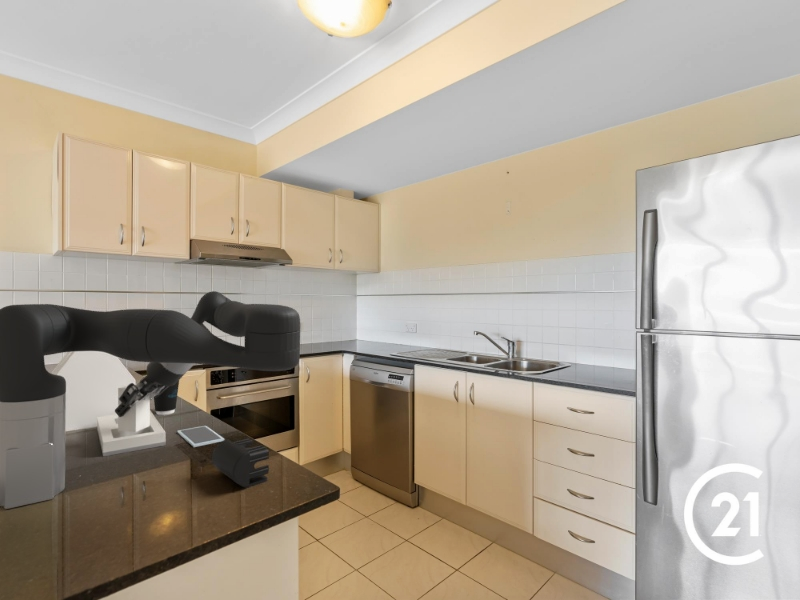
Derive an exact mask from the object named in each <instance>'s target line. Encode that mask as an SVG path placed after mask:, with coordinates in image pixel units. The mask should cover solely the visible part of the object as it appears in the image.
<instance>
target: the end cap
mask: <svg viewBox="0 0 800 600" xmlns="http://www.w3.org/2000/svg"><path fill="white" fill-rule="evenodd" d="M250 445H255V441H254V440H253V439H250V438H245V439H241V440H237V441H232V440H230V439H229V438H226V439H224V441H221V442H218V443H217V445H216V446H215V448H213V449H214V450H213V451H212V455H211V463H212V464H213V467H215V468H216V469H217V470H218V471H220V472H221V473H222V474H224V475H225V476H227V478H229V479H231V481H233V482H234V483H236V484H238V485H239V486H240V487H243V488H246V489H247V488H248V489H249V488H251V487H254V486H257V485H260V484H264V483H266V482H268V477H267V476H266V475H268V474H269V473H270V471H269V469H270V467H269V466H270V465H269V464H266V465H263V466H260V467H256V463H259V462H262V461H265V460H269V459H270V452H269V449H268V448H267V447H265V446H263V445H258V446H253V447H249V446H250ZM255 467H256V468H255Z"/></svg>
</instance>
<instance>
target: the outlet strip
mask: <svg viewBox="0 0 800 600" xmlns="http://www.w3.org/2000/svg"><path fill="white" fill-rule="evenodd" d="M96 430H97V434H98V439H99V445H100V449H101V453H102V457H108V456H113V455H118V454H124V453H130V452H136V451H139V450H140V451H141V450H145V449H151V448H157V447H162V446H163V447H164V446H166V444H167V443H166V442H167V441H166V438H167V437H166V435H167V433H166V431H165V429H164V428H163V427H162V425H161V424H160V421H158V419H157V418H156V417H155V415H154V413H153V412H152V411H151V410H150V426H149V427H146V428H144V429H141V430H139V431H137V432H128V431H118V415H110V416H103V417H97V427H96Z"/></svg>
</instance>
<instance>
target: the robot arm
mask: <svg viewBox="0 0 800 600" xmlns="http://www.w3.org/2000/svg"><path fill="white" fill-rule="evenodd" d="M205 322H206V323H208V324H209V325H211V326H212V327H214V328H216V329H217V330H219V331H220V332H223V333H225V334H226V335H230V336H232V337H234V338H235V337H236V338H244V346H243V345H238V344H236V343H232V342H229V341H227V340H224V339H222V338H220V337H218V336H217V335H215V334H213V333H212V331H211V330H210V329H208V327H207V326H206V325H205V324H204V323H205ZM74 351H100V352H105V353H108V354H111V355H113V356H116V357H118V359H123V360H126V361H132V362H137V363H138V362H139V363H140V362H141V363H148V364H147V366H146V375H145V376H143V377H142V378H141V379H140V380H139V382H138V383H136V384H137V385H134V384H133V383H131V384H129V385H128V386H127V388H126V389H125V391H124V392H123V394H122V395H121V397H120V398H119V400H120V401H121V402H122V403H121V404H120V405H119V406H118V407H117V408H116V409H115V413H116V414H117V415H118V416H119V417H122V416H124V415H125V414H126V413H127V412H128V411H129V409H130V408H131V407H132V406H134V405H135V404H136V403H137V402H138V401H141V400H144V399H145V398H146V397H147V396H148V395H150V396H149V397H150V401H153V400H154V397H155V398H156V397H158V396H159V395H160V394H161V393H162V392H164V391H165V390H166V389H167V388H168V387H169V386H173V385H175V384H176V383H177V382H178V381H179V382H180V380H181V379H182V378H183V377H184V376H185V374H186V373H188V372H189V370H191V368H192V367H194V365H195V364H199V365H201V364H202V365H203V364H204V365H211V366H212V365H213V366H222V367H230V368H239V369H246V370H253V371H262V372H263V371H265V372H281V371H282V372H284V371H288V370H292V369H293V368H296V367H297V366H298V365H299V362H300V359H301V358H300V356H301V317H300V313H299V312H298V311H297V309H295V308H293V307H290V306H287V305H283V304H270V303H268V304H267V303H243V302H239V301H236V300H232V299H230V298H229V297H227V296H225V295H224V294H223V293H221V292H219V291H215V290H214V291H209V292H207V293H206V292H205V294H203V295H202V296H201V298H200V299H199V301H198V303H197V305H196V308H195V309H194V311H193V313H192V316H191V317H189V316H188V315H186V314H184V313H182V312H180V311H176V310H173V309H172V310H170V309H153V308H152V309H150V308H132V309H131V308H129V309H126V308H125V309H118V310H110V311H103V310H102V311H100V310H99V311H98V310H89V309H83V308H78V307H77V308H76V307H70V306H64V305H58V304H50V303H42V304H41V303H39V304H38V303H34V304H33V303H32V304H29V303H28V304H27V303H26V304H25V303H24V304H11V305H7V306H4V307H1V308H0V507H3V509H4V510H8V509H13V508H17V507H21V506H26V505H31V504H35V503H40V502H43V501H49V500H53V499H54V498H55V496H57V495H58V494H60V493H61V492H63V491H64V490H65V488H66V432H67V431H66V380H65V378H64V377H62V376H59V375H54V374H51V372H49V371H48V370H47V368H46V364H45V362H46V361H45V356H51V355H56V354H61V353H62V354H63V353H67V352H74ZM139 392H140V393H141V394H143V396H141V395H140V393H139ZM135 398H136V399H135ZM134 399H135V400H134ZM133 400H134V401H133Z"/></svg>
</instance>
